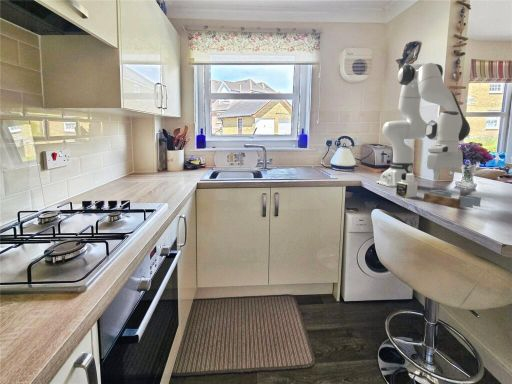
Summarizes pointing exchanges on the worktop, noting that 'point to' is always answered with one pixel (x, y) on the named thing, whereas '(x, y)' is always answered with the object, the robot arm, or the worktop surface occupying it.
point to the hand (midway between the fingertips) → (443, 178)
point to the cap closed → (441, 193)
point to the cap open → (470, 201)
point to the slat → (442, 200)
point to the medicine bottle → (407, 186)
